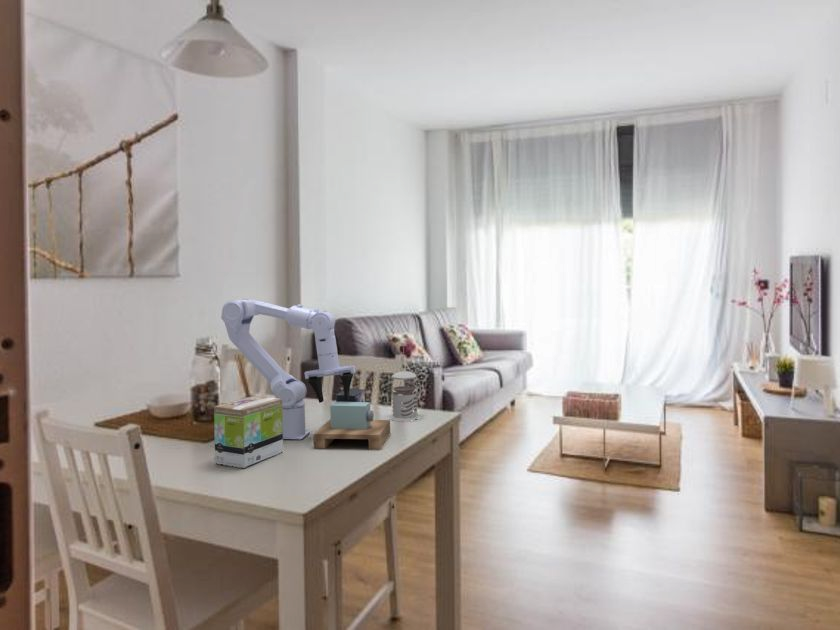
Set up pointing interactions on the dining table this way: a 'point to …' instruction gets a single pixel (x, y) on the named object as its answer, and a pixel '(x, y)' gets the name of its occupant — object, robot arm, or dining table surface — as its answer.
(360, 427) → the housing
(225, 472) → the dining table surface
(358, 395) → the small box
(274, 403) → the tea box
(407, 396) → the french press
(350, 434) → the stand
